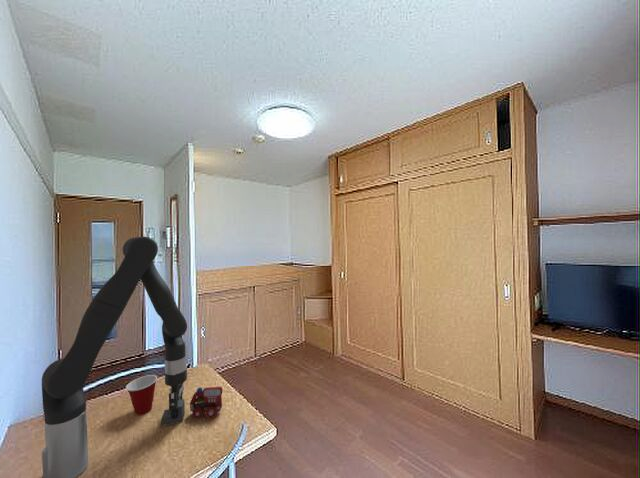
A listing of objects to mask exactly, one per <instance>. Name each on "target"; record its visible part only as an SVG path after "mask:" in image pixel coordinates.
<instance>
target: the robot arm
mask: <svg viewBox="0 0 640 478" xmlns="http://www.w3.org/2000/svg"><path fill="white" fill-rule="evenodd" d="M158 250H159V247H158V243H157V241H156V240H155V239H153V238H152V237H149V236H135V237H131V238H129V239H127V240H126V241H125V242H124V244H123V246H122V253H123V256H124V257H123V259H122V262H121V263H120V265H119V267H118V268H117V270H116V271H115V272H114V274H113V275H112V276H111V277H110V278H109V279H108V280H107V281H106V282H105V283H104V284H103V286H102V287H101V288H100V289H99V290H98V291H97V292H96V293H95V295H94V297H93V299H92V301H91V302H90V303H89V305H88V307H87V308H86V309H85V311H84V313H83V316H82V318H81V321H80V324H79V327H78V330H77V333H76V336H75V339H74V341H73V343H72V345H71V347H70V349H68V352H67V353H66V355H65V356H64V357H63V358H59V359H57V360H55V361H53V362H52V363H50V364H49V365H48V366H47V367H46V368H45V369H44V372H43V373H42V376H41V395H42V397H41V398H42V410H43V418H44V432H45V433H44V435H45V447H44V448H43V449H42V450H41V461H42V464H41V466H42V478H77V477H78V476H80V475H81V474H82V473H83V472H84V471H86V470H87V468H88V466H89V448H88V447H89V446H88V444H89V441H88V422H87V421H88V419H87V400H86V396H85V391H84V385H85V384H86V382H87V381H88V378H89V377H90V376H89V375H90V373H91V371H92V369H93V366H94V364H95V362H96V360H97V358H98V355H99V353H100V351H101V350H102V347H103V346H104V345H105V342H106V341H107V339H108V338H109V336H110V334H112V331H113V330H114V328H115V326H116V324H117V322H119V319H120V317H121V316H122V314H123V313H124V311H125V308H126V306H127V305H128V303H129V301H130V299H131V297H132V296H133V294H134V293H135V292H134V291H135V290H136V288H137V286H138V283H140V281H141V283H142V285H143V287H144V290H145V292H146V293H147V295H148V298H149V300H150V302H151V305H152V307H153V308H154V310H155V312H156V314H157V315H158V316H159V317H160V319H161V320H162V324H161V334H162V338H163V343H164V383H165V386H169V387H170V388H169V393H168V409H169V411H170V410H171V419H176V418H178V402H179V401H180V400H181V399H183V394H184V389H185V387H184V383H185V382H186V381H187V380H188V365H187V355H186V343H185V341H184V339H183V336H184V335H185V333H186V332H187V329H188V323H187V321H186V319H185V317H184V315H183V313H182V312H181V310H180V308H179V307H178V305H177V303H176V300H175V298H174V296H173V293H172V292H171V289H170V288H169V286H168V284H167V283H166V282H165V280H164V279H163V277H162V276H161V275H160V273H159V271H158V269H157V268H156V265H155V263H154V262H155V261H154V260H155V259H156V257H157V255H158V253H159V251H158ZM173 403H175V405H173Z"/></svg>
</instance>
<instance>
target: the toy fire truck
mask: <svg viewBox="0 0 640 478" xmlns="http://www.w3.org/2000/svg"><path fill="white" fill-rule="evenodd" d="M192 395H193V396H192V398H190V399H191V400H190V402H189V408H190V412H192V417H193V419H196V420H197V419H198V420H199V419H201V418H202V417H203V416H204V414H205V416H206V418H207V419H214V418H215V417H216V416H217V413H218V411H220V410H221V409H222V407H223V400H222V395H223V387H222V386H211V387H204V388H202V387H198V388H197V389H196V391H195V392H194V393H193V394H192Z"/></svg>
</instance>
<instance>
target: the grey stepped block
mask: <svg viewBox="0 0 640 478" xmlns="http://www.w3.org/2000/svg"><path fill="white" fill-rule="evenodd" d="M173 405H175V403H173ZM185 410H186V409H185V398H182V399H181V400H180V401H179V402H178V418H176V419H171V410H170V411H169V408H167V409H164V411H163V414H162V416H161V426H162V425H163V426H168V425H173V424H178V423H177V422H179V423H182V421H184V418H185V414H186V411H185ZM172 423H173V424H172Z"/></svg>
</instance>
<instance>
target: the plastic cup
mask: <svg viewBox="0 0 640 478" xmlns="http://www.w3.org/2000/svg"><path fill="white" fill-rule="evenodd" d="M157 379H158V376H157V375H155V374H148V375H144V376H140V377H138V378H135V379H133V380H132V381H130V382H129V383H128V384H126V385H125V390H126V391H128V394H129V397H130V401H131V404H132V407H133V411H134V413H135V415H137V416H142V415H145V414H148V413H149V412H150V411H152V408H153V402H154V397H155V390H156V389H155V388H156V385H157V381H158V380H157Z"/></svg>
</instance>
